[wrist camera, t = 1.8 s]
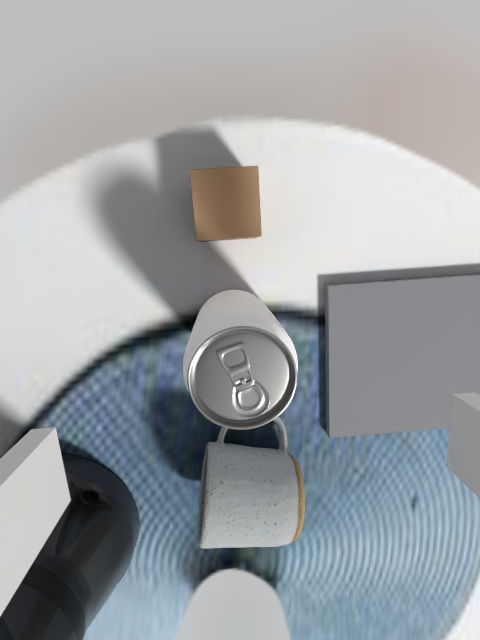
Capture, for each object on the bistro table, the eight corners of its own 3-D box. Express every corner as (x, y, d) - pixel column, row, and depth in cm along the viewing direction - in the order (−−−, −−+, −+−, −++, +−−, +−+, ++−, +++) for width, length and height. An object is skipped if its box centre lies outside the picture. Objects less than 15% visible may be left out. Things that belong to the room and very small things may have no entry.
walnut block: (200, 241, 27) (196, 240, 22) (194, 183, 26) (189, 169, 21) (255, 238, 27) (261, 236, 22) (251, 179, 26) (258, 165, 22)
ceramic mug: (282, 502, 32) (300, 577, 25) (199, 497, 32) (192, 572, 24) (297, 402, 30) (323, 451, 23) (209, 395, 30) (206, 442, 22)
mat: (326, 432, 31) (329, 438, 30) (324, 284, 28) (328, 286, 27) (489, 417, 32) (497, 422, 31) (505, 271, 29) (515, 272, 28)
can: (212, 371, 29) (206, 454, 17) (184, 304, 28) (157, 345, 16) (281, 346, 29) (321, 412, 17) (256, 277, 27) (282, 298, 16)
